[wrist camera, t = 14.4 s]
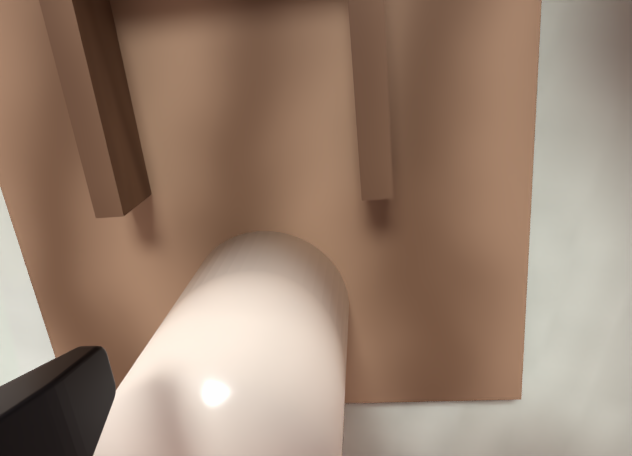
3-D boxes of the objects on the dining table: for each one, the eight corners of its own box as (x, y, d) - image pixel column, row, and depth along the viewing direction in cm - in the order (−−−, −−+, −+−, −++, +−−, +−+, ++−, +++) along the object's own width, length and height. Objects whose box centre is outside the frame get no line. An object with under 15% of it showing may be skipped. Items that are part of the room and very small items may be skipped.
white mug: (179, 236, 20) (52, 381, 12) (342, 225, 20) (327, 373, 11) (220, 434, 24) (143, 654, 16) (360, 431, 23) (358, 661, 15)
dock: (539, -164, 16) (584, -213, 12) (514, 384, 23) (539, 443, 20) (-65, -80, 18) (-159, -103, 15) (83, 395, 25) (41, 450, 22)
